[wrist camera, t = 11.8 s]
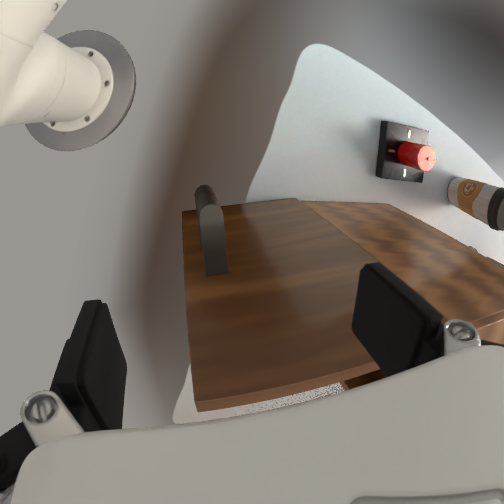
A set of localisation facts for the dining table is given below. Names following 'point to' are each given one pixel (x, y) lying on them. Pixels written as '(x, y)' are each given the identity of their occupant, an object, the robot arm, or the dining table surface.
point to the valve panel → (388, 151)
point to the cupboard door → (268, 301)
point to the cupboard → (423, 266)
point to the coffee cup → (478, 201)
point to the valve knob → (417, 156)
